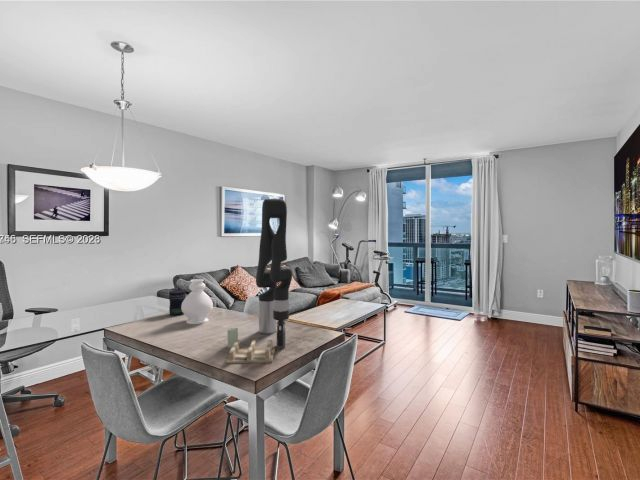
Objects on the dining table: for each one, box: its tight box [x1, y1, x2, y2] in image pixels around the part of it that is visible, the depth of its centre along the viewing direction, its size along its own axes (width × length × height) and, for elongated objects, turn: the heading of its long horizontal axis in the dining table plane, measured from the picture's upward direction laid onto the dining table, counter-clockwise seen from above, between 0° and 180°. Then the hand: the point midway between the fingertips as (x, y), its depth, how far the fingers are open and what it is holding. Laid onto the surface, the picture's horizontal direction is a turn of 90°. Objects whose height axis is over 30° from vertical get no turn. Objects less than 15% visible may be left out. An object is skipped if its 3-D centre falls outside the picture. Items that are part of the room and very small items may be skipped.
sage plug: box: [227, 327, 239, 349], centre depth 160 cm, size 4×4×8 cm
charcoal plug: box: [276, 327, 287, 349], centre depth 160 cm, size 4×4×8 cm
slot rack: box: [225, 339, 276, 364], centre depth 148 cm, size 15×19×4 cm
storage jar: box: [168, 289, 187, 317], centre depth 218 cm, size 10×10×15 cm
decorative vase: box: [181, 278, 214, 325], centre depth 201 cm, size 18×18×25 cm
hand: (281, 343), depth 160 cm, fingers open, 6 cm apart
